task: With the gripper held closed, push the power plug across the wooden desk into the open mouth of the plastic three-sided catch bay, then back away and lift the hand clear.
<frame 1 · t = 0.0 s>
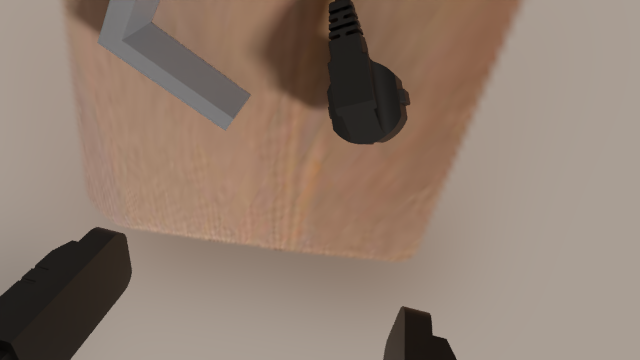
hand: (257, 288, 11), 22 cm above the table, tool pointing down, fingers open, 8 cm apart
power plug: (361, 45, 29), on the table
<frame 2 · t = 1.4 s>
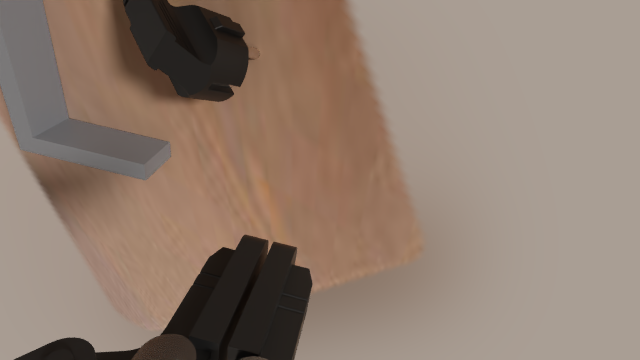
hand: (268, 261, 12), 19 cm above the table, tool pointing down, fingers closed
catch bay: (99, 22, 29), on the table
power plug: (190, 12, 28), on the table
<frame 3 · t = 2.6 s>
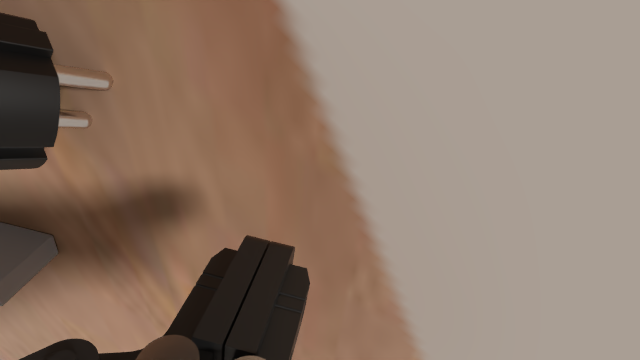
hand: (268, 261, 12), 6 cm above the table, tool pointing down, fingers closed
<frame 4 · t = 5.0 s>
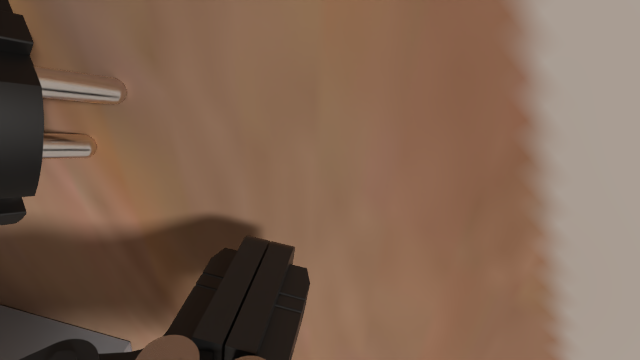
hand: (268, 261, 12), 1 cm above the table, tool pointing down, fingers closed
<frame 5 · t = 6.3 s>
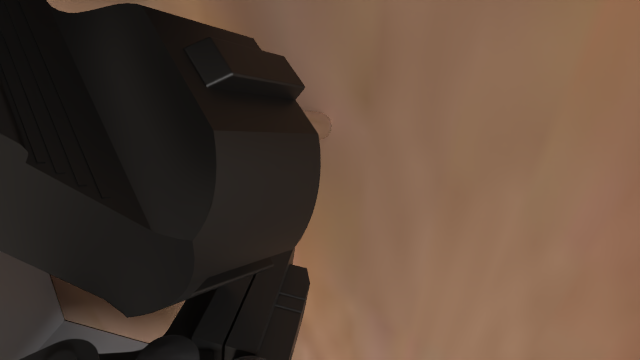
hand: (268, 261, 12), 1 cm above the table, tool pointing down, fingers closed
catch bay: (130, 194, 14), on the table
power plug: (146, 27, 11), on the table
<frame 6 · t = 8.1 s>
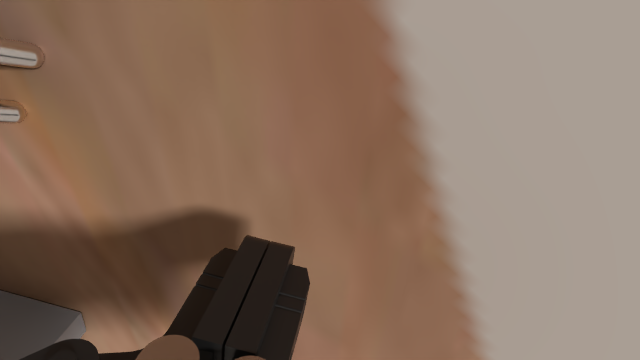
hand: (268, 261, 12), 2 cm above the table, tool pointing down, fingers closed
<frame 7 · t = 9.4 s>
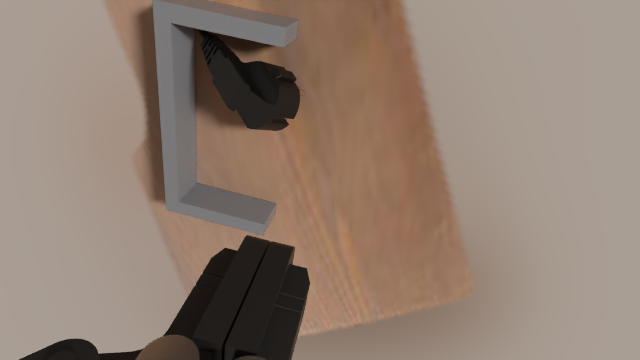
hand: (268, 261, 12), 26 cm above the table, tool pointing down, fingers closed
catch bay: (237, 119, 39), on the table
power plug: (251, 63, 36), on the table
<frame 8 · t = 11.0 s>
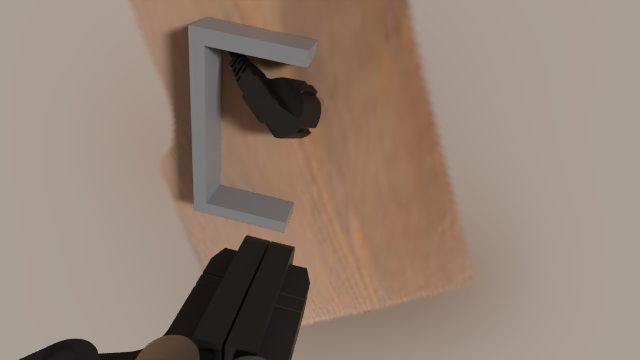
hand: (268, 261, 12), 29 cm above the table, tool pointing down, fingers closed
catch bay: (259, 127, 43), on the table
power plug: (273, 77, 40), on the table
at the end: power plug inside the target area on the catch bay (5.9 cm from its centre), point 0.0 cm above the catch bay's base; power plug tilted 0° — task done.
